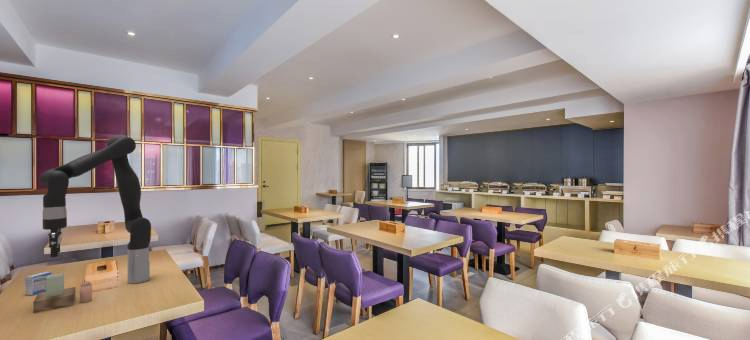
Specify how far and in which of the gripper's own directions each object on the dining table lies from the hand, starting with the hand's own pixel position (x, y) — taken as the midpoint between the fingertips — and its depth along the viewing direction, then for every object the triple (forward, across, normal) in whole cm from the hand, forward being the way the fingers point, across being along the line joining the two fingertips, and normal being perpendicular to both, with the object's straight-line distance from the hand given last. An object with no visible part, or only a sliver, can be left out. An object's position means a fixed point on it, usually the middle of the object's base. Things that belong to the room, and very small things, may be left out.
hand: (55, 254), depth 143 cm
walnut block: (+22, 0, 0) cm, 22 cm away
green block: (+17, 0, 0) cm, 17 cm away
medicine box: (+22, +25, +8) cm, 34 cm away
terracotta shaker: (+22, -3, -10) cm, 24 cm away
